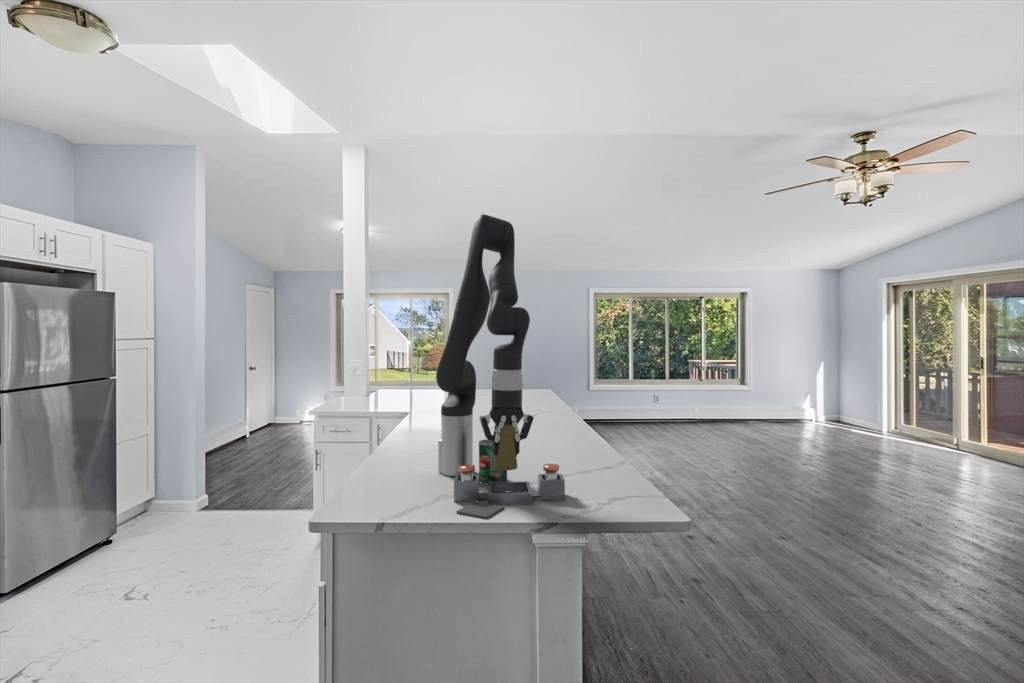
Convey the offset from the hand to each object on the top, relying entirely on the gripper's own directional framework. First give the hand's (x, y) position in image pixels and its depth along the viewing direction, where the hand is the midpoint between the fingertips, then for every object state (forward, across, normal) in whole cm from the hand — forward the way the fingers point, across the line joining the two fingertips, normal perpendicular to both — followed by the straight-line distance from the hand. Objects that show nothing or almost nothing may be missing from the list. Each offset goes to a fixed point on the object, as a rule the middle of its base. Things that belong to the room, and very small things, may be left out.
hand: (505, 455), depth 133 cm
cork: (+3, 0, 0) cm, 3 cm away
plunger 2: (+9, -11, +3) cm, 15 cm away
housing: (+10, -1, 0) cm, 10 cm away
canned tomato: (+11, -1, -15) cm, 19 cm away
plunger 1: (+10, +9, -2) cm, 14 cm away
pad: (+11, +8, +8) cm, 16 cm away
